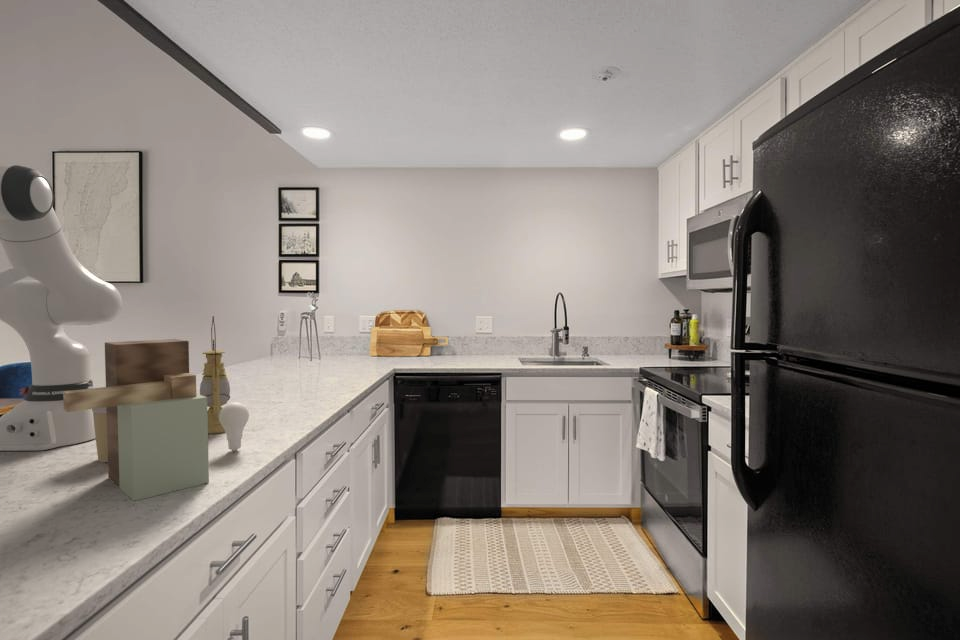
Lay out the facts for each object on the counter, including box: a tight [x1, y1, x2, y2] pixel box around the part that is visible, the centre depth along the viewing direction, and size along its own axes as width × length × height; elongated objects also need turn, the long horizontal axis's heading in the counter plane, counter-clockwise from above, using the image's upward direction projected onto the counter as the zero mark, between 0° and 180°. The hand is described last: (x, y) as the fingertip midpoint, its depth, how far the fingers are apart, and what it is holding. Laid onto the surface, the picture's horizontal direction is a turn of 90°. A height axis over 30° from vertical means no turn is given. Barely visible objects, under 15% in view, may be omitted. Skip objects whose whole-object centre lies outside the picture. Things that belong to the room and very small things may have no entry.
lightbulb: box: [219, 401, 250, 452], centre depth 117 cm, size 6×6×11 cm
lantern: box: [199, 315, 231, 435], centre depth 136 cm, size 12×10×30 cm
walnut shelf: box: [104, 338, 190, 489], centre depth 101 cm, size 12×8×26 cm, turn 137°
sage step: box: [117, 393, 210, 501], centre depth 95 cm, size 12×9×16 cm
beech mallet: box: [63, 372, 197, 412], centre depth 92 cm, size 19×4×4 cm, turn 138°
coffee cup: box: [92, 407, 108, 463], centre depth 113 cm, size 9×9×12 cm
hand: (21, 271), depth 82 cm, fingers open, 8 cm apart
